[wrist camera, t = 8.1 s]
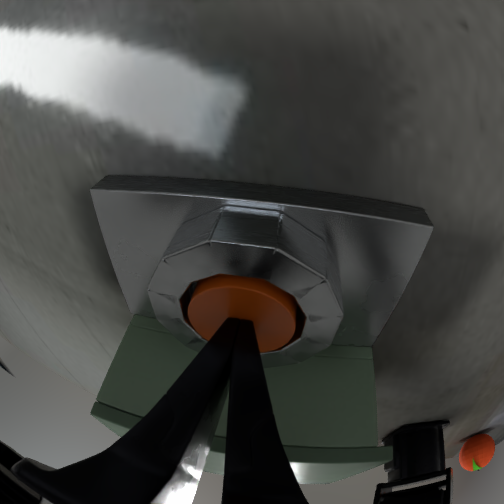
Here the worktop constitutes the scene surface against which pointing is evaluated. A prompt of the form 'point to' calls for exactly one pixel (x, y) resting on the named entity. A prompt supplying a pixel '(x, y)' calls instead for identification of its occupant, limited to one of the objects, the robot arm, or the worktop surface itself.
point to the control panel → (261, 253)
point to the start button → (244, 308)
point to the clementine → (477, 452)
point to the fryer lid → (300, 458)
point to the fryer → (278, 381)
